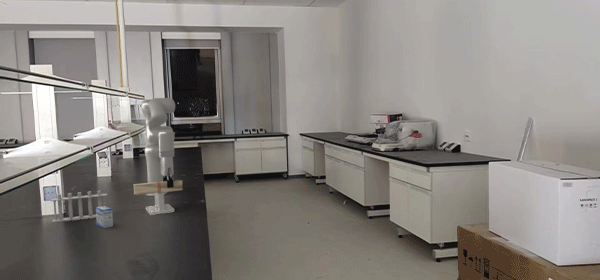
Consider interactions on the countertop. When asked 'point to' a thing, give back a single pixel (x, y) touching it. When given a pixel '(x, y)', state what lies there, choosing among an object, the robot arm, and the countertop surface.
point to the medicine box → (104, 217)
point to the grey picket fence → (78, 206)
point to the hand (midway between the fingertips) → (168, 186)
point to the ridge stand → (159, 205)
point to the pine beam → (156, 187)
